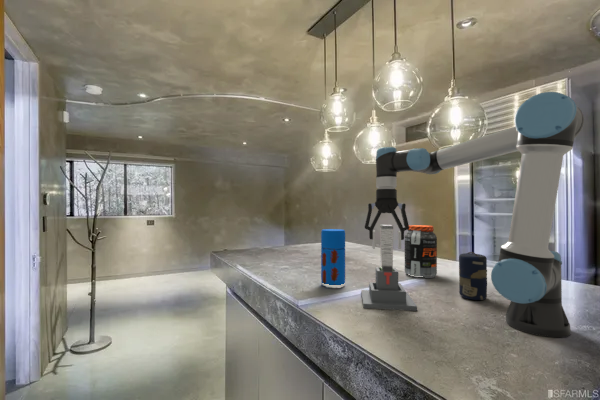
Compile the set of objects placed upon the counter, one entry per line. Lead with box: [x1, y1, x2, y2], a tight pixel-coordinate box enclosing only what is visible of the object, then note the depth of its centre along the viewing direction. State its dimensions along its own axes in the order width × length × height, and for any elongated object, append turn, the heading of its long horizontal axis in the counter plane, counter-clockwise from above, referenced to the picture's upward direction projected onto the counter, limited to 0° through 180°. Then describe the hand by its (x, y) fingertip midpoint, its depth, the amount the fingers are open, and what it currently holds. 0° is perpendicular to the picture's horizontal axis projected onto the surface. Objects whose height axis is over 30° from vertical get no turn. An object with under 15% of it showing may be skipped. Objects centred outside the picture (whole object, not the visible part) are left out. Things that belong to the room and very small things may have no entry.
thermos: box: [320, 228, 346, 285], centre depth 138 cm, size 11×11×25 cm
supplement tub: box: [404, 224, 438, 279], centre depth 159 cm, size 16×16×26 cm
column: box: [379, 224, 394, 271], centre depth 115 cm, size 6×4×22 cm
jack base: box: [360, 266, 418, 312], centre depth 115 cm, size 18×18×13 cm
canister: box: [458, 251, 488, 301], centre depth 120 cm, size 10×10×18 cm
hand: (386, 248), depth 115 cm, fingers open, 9 cm apart
